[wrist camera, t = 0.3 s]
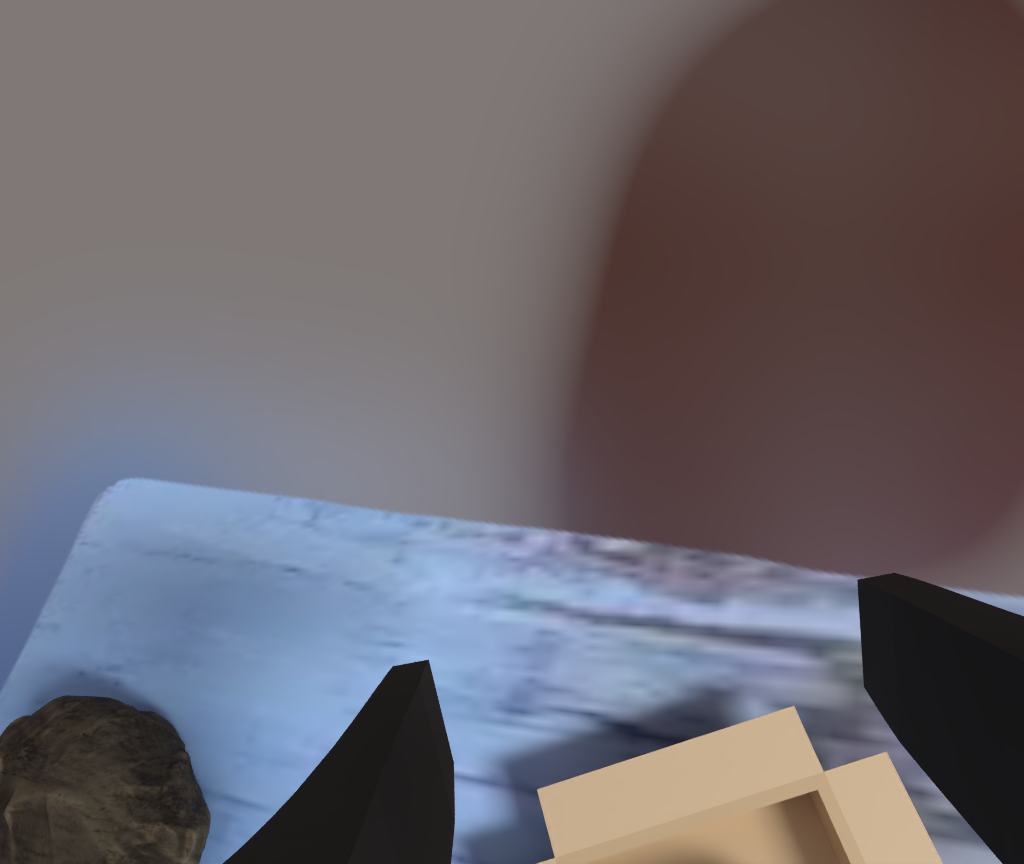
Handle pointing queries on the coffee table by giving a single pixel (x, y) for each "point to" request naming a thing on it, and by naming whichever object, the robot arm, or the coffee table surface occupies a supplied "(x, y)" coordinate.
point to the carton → (737, 805)
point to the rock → (98, 788)
